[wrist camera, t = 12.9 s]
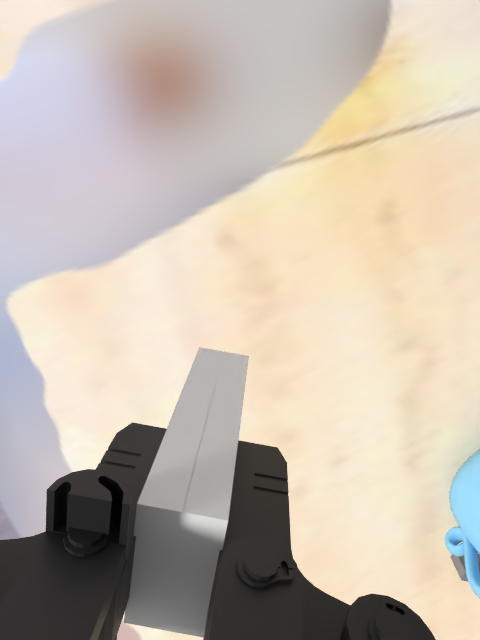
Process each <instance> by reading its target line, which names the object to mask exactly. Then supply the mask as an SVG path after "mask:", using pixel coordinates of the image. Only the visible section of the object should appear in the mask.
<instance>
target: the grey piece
mask: <svg viewBox="0 0 480 640" xmlns="http://www.w3.org/2000/svg"><path fill="white" fill-rule="evenodd" d="M451 559H452V561H453V563H454V565H455V567H456V570H457V572H458V574H459V576H460V578H461V580H464V581H468V579H467V575H466V569H465V558H464V555H463V556H455V555H453V554H452V556H451ZM478 565H479V574H480V554H478Z"/></svg>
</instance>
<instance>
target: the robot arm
mask: <svg viewBox="0 0 480 640" xmlns="http://www.w3.org/2000/svg"><path fill="white" fill-rule="evenodd" d="M248 358H249V356H244V355H239V354H233V353H228V352H222V351H217V350H211V349H206V348H200V347H199V350H198V352H197V355H196V357H195V360H194V362H193V365H192V367H191V370H190V372H189V375H188V377H187V380H186V382H185V385H184V387H183V390H182V392H181V395H180V397H179V400H178V402H177V405H176V407H175V410H174V412H173V415H172V417H171V420H170V422H169V425H168V427H167V429H164V428H159V427H153V426H148V425H142V424H137V423H131V424H130V425H128V426H127V427H125V428H124V429H122V430H121V431H119V432H118V433H117V434H116V436H115V437H114V439H113V441H112V442H111V444H110V446H109V448H108V451H106V453H105V455H104V456H103V458H102V460H101V463H99V465H98V467H97V468H96V470H91V469H87V470H82V471H77V472H72V473H70V474H68V475H66V476H64V477H62V478H60V479H58V480H56V481H55V482H54V483H53V484H52V485H51V486H50V487H49V488H48V489H47V507H46V532H44V533H41V534H38V535H35V536H31V537H25V538H20V539H9V540H0V640H117V633H118V630H119V627H120V624H121V621H122V618H123V615H124V612H125V618H124V623H130V624H135V625H140V626H146V627H151V628H156V629H162V630H167V631H172V632H178V633H183V634H188V635H194V636H199V637H204V640H436V639H435V638H434V636H433V634H432V632H431V631H430V630H429V628H428V627H427V626H426V624H425V623H424V622H423V620H422V619H421V618H420V616H418V615H417V614H416V613H415V612H414V611H412V610H411V609H410V608H409V607H408V606H406V605H405V604H403V603H401V602H399V601H397V600H395V599H393V598H391V597H389V596H384V595H377V594H369V595H365V596H362V597H359V598H358V599H357V600H356V601H355V602H354V603H353V604H352V605H351V606H350V605H348V604H346V603H344V602H342V601H340V600H338V599H336V598H334V597H332V596H330V595H328V594H326V593H324V592H323V591H321V590H320V589H318V588H316V587H315V586H314V585H313V584H311V583H310V582H309V581H308V580H307V579H306V578H305V577H304V576H303V574H302V573H301V572H300V571H299V569H298V568H297V564H296V562H295V561H294V559H293V556H292V551H291V539H290V518H289V497H288V482H287V480H288V476H287V462H286V461H285V459H284V457H283V456H282V454H281V452H280V451H279V449H278V448H277V447H271V446H266V445H260V444H255V443H249V442H244V441H238V438H239V430H240V422H241V414H242V406H243V398H244V390H245V382H246V374H247V366H248Z"/></svg>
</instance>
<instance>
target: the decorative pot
mask: <svg viewBox="0 0 480 640" xmlns="http://www.w3.org/2000/svg"><path fill="white" fill-rule="evenodd" d="M449 500H450V506H451V510H452V512H453V515H454V517H455V519H456V521H457V522H458V524H459V526H460V527H454V528H452V529H451V530H449V531H448V533H447V534H446V536H445V544H446V546H447V548H448V550H449V551H450V552H451V553H452V554H453V555H455V556H463V555H464V558H465V569H466V575H467V579H468V582H469V584H470V586H471V588H472V590H473V592H474V593H475V594H476V595H477V596H478V597H479V598H480V574H479V565H478V553H479V554H480V449H479V450H478V451H477V452H476V453H474V454H473V455H472V456H471V457H470V458H469V459H468V460H467V461H466V462H465V463H464V464H463V465H462V466H461V467H460V469H459V470H458V472H457V473H456V475H455V477H454V479H453V482H452V485H451V488H450V494H449ZM460 542H463V543H461V544H460V545H458V544H459V543H460ZM477 552H478V553H477Z"/></svg>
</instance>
